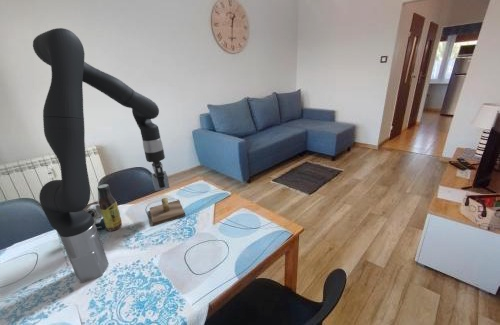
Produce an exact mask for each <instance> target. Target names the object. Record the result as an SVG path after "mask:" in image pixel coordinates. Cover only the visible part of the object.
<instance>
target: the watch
mask: <svg viewBox="0 0 500 325" xmlns="http://www.w3.org/2000/svg"><path fill="white" fill-rule="evenodd" d="M85 211H86V212H88V213H90V214H91V215H92V217H93V220H94V223H95V226H96V228H97V231H99V232H100V231H105V230H106V229H107V228H106V226H105V223H104V220H103V216H102V213H101V209H100V205H99V204H98V203H97V204H91V205H89V206H88V208H87V209H86V210H85Z"/></svg>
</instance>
